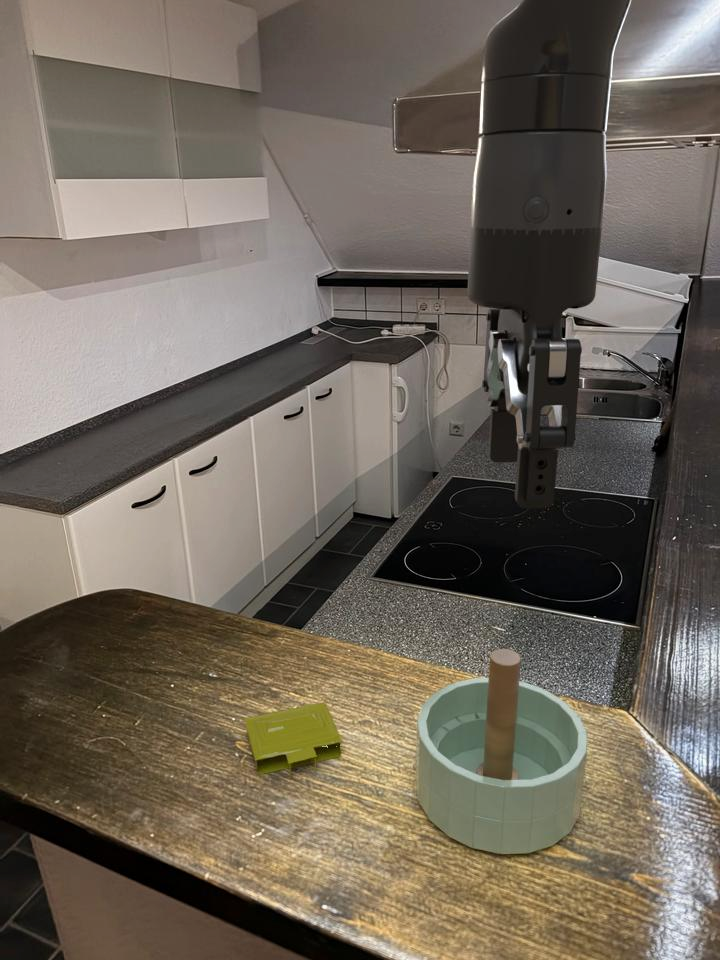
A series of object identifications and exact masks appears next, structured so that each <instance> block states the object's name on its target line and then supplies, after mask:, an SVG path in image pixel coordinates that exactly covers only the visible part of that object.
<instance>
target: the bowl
mask: <svg viewBox="0 0 720 960" xmlns="http://www.w3.org/2000/svg"><path fill="white" fill-rule="evenodd" d="M488 680H489V677H473V678H469V679H464V680H460V681H455V682H452V683H450V684H448V685H446V686H444V687H442V688H440V689H438V690H436V691H434V692H433V693H432V694H431V695H430V696H429V697H428V699H427V700H426V701H425V702H424V703H423V704H422V705H421V708H420V711H419V714H418V717H417V719H416V747H415V749H416V751H415V752H416V753H415V754H416V755H415V787H416V794H417V800H418V803H419V805H420V806H421V808H422V809H423V811H424V813H425V815H426V816H427V818H428V820H429V821H430V822H432V824H434V825H435V826H436V827H437V828H438V829H439V830H441V832H443V833H444V834H445V835H446V836H447V837H449V838H451V839H453V840H455V841H457V842H459V843H461V844H463V845H465V846H467V847H469V848H471V849H474V850H475V849H476V850H480V851H485V852H490V853H494V854H498V855H499V854H500V855H518V854H519V855H521V854H531V853H535V852H538V851H540V850H543V849H547V848H550V847H552V846H554V845H555V844H557V843H558V842H560V841H561V840H562V839H563V838H565V837H566V836H567V835H569V834H570V833H571V831H572V830H573V828H574V826H575V824H576V823H577V821H578V818H579V816H580V814H581V806H582V798H583V789H584V781H585V773H586V764H587V754H588V732H587V730H586V728H585V725H584V723H583V722H582V719H581V717H580V715H579V714H578V713H577V712H576V711H575V710H574V709H573V708H572V707H571V706H570V705H569V704H568V703H567V702H566V701H565V700H563V699H561V698H560V697H558V696H556V695H555V694H553V693H552V692H550V691H548V690H547V689H545V688H542V687H539V686H537V685H533V684H530V683H527V682H525V681H521V680H519V692H518V705H517V719H516V732H515V745H514V758H513V767H514V768H515V769H516V771H517V772H518V776H519V780H501V779H496V778H490V777H485V776H480V775H478V774H476V771H477V768H478V767H479V765H480V764H482V763H483V762H484V747H485V730H486V713H487V697H488Z"/></svg>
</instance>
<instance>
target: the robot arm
mask: <svg viewBox="0 0 720 960" xmlns="http://www.w3.org/2000/svg"><path fill="white" fill-rule="evenodd" d="M631 2H632V0H522V1H521V2H520V3H519V4H518V5H517V6H516V7H515V8H514V9H513V10H511V12H509V13H508V14H506V16H504V17H503V18H501V19H500V20H499V21H498V22H497V23H495V25H494V26H493V27H492V28H491V29H490V31H489V33H488V34H487V36H486V39H485V41H484V45H483V51H482V56H481V57H482V59H481V70H480V71H481V72H480V82H479V84H480V86H479V105H478V108H479V109H478V132H477V135H478V136H479V137H478V138H477V145H476V146H477V147H476V154H475V161H474V166H473V172H472V178H471V179H472V180H471V193H470V195H471V199H470V218H469V219H470V221H469V243H468V244H469V247H468V248H469V249H468V269H467V270H468V271H467V273H468V274H467V297H468V299H469V301H470V302H471V303H473V304H474V305H476V306H480V307H483V308H488V310H487V313H486V315H485V317H486V318H485V319H486V334H485V335H486V336H485V349H484V350H485V351H484V352H485V353H484V367H483V371H484V372H483V379H482V381H481V382H482V383H481V384H482V385H481V387H482V388H483V392H484V393H487V394H486V403H487V405H488V407H489V408H490V413H489V414H490V416H489V433H488V434H489V436H488V453H487V454H488V457H489V458H490V460H491V461H492V462H494V463H516V471H515V472H516V473H515V489H514V500H515V502H516V503H517V505H518V506H519V508H521V509H547V508H550V507H551V506H552V505H553V504H554V502H555V491H556V480H557V467H558V457H559V449H563V448H564V449H565V448H566V449H567V448H569V449H570V448H573V447H574V444H575V441H576V428H577V427H576V425H577V413H578V412H577V411H578V399H579V386H580V385H579V384H580V373H581V370H580V369H581V359H582V358H581V356H582V353H583V347H582V344H581V340H580V339H579V338H565V337H564V338H563V323H562V316H563V313H564V312H565V311H567V310H568V309H573V310H575V309H581V308H585V307H587V306H589V305H591V303H593V302H594V300H595V298H596V294H597V293H596V292H597V285H598V284H597V283H598V272H599V262H600V252H601V251H600V250H601V241H602V229H603V222H604V221H603V220H604V211H605V200H606V191H607V190H606V189H607V152H606V151H607V147H606V145H607V135H606V134H605V133H606V132H607V130H608V129H607V128H608V117H609V107H610V98H611V97H610V96H611V89H612V88H611V86H612V78H613V62H614V53H615V49H616V47H617V43H618V40H619V36H620V34H621V31H622V28H623V25H624V23H625V20H626V17H627V14H628V12H629V9H630V6H631ZM542 414H545V415H546V416H547V418H548V425H547V426H546V425H541V417H542V416H541V415H542Z"/></svg>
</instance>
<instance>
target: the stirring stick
mask: <svg viewBox="0 0 720 960" xmlns="http://www.w3.org/2000/svg"><path fill="white" fill-rule="evenodd" d="M521 664H522V658H521V655H520V654H519V653H518V652H516V651H515V650H512V649H508V648H498V649H494V650H493V651H491V653H490V654H489V667H488V678H489V680H488V697H487V713H486V730H485V747H484V762H483V763H482V764H480V765H479V767H478V768H477V771H476V774H478V775H480V776H485V777H490V778H496V779H501V780H519V776H518V772H517V771H516V769H515V768H514V767H513V758H514V745H515V732H516V719H517V705H518V692H519V681H520V678H521Z"/></svg>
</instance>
